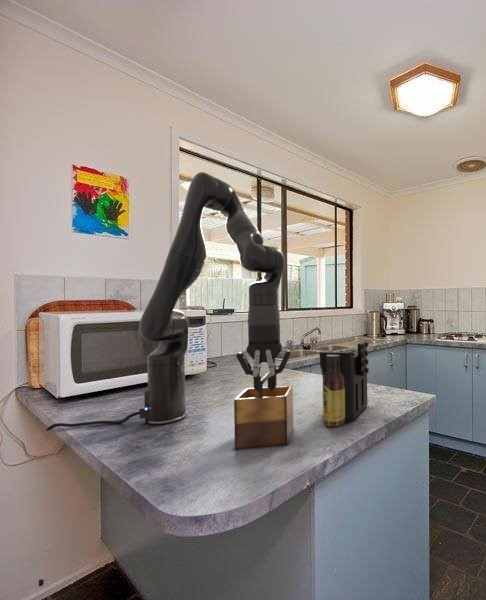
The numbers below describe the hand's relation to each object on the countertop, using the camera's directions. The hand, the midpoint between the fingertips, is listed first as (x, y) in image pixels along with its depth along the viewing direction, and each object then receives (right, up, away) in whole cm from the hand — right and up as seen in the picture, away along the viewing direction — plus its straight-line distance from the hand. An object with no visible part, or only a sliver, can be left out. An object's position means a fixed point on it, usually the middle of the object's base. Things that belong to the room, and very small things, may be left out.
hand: (265, 389), depth 84 cm
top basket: (0, -7, 0) cm, 7 cm away
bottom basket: (0, -13, 0) cm, 13 cm away
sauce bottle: (+16, -12, +9) cm, 22 cm away
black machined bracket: (+19, -12, +19) cm, 30 cm away
